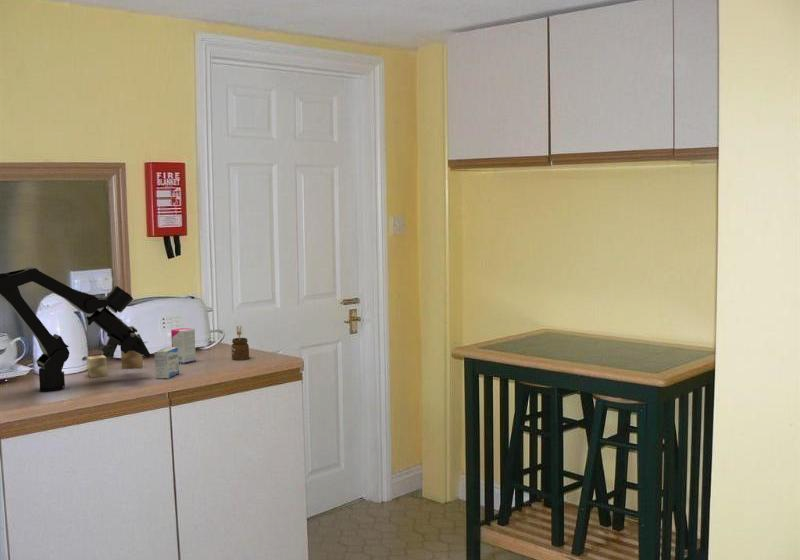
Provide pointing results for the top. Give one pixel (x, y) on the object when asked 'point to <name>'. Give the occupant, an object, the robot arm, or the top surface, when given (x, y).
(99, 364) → the beech block
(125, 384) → the top surface
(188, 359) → the supplement box
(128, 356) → the oak block
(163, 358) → the medicine box
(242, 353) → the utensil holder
